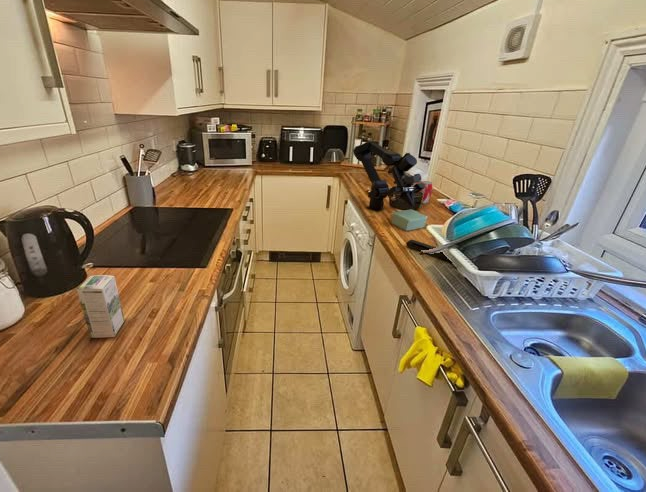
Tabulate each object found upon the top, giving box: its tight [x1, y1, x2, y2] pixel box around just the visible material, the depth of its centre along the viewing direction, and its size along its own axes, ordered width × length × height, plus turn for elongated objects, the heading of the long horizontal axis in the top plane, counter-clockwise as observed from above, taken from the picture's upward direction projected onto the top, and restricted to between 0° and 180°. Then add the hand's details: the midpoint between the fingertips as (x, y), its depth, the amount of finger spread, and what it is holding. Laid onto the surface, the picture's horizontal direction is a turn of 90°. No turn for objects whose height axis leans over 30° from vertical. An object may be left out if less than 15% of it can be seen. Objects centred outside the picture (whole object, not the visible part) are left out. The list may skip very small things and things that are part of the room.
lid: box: [392, 208, 429, 222], centre depth 140 cm, size 10×12×1 cm
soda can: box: [420, 180, 434, 205], centre depth 172 cm, size 7×7×12 cm
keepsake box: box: [391, 213, 427, 232], centre depth 142 cm, size 10×12×5 cm
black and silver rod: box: [406, 239, 452, 263], centre depth 117 cm, size 18×3×3 cm, turn 47°
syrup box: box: [76, 274, 125, 339], centre depth 73 cm, size 6×6×14 cm
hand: (413, 206), depth 138 cm, fingers closed
